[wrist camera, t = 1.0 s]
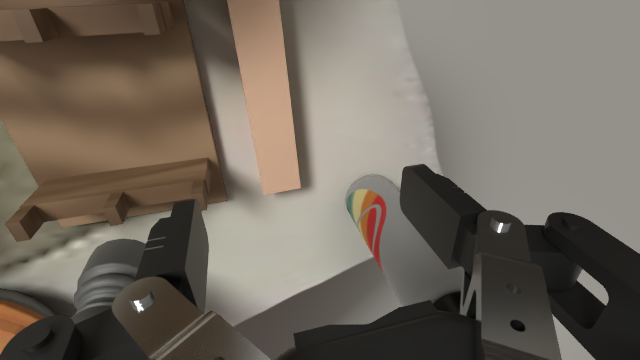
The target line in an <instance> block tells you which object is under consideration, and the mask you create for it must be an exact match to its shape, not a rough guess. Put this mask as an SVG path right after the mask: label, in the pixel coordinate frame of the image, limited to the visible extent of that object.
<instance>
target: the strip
mask: <svg viewBox="0 0 640 360" xmlns="http://www.w3.org/2000/svg"><path fill="white" fill-rule="evenodd" d="M227 3H228V8H229V14H230V19H231V24H232V30H233V35H234V40H235V46H236V51H237V56H238V62H239V67H240V72H241V78H242V83H243V88H244V94H245V99H246V104H247V110H248V115H249V120H250V125H251V131H252V136H253V141H254V147H255V152H256V157H257V163H258V168H259V173H260V179H261V184H262V189H263V195H267V194H272V193H277V192H283V191H288V190H293V189H299V188H301V186H300V177H299V169H298V160H297V151H296V143H295V134H294V125H293V117H292V108H291V99H290V91H289V82H288V74H287V65H286V56H285V48H284V39H283V30H282V22H281V13H280V4H279V0H227Z"/></svg>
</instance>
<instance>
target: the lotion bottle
mask: <svg viewBox="0 0 640 360" xmlns="http://www.w3.org/2000/svg"><path fill="white" fill-rule="evenodd" d="M346 206H347V209H348V211H349V213H350V215H351V217H352V219H353V221H354V222H355V224H356V226H357V228H358V229H359V231H360V233H361V235H362V237H363V238H364V240H365V242H366V244H367V245H368V247H369V249H370V251H371V253H372V254H373V256H374V258H375V260H376V261H377V263H378V265H379V267H380V268H381V270H382V272H383V273H384V276H385V277H386V279H387V281H388V283H389V284H390V286H391V288H392V289H393V291H394V293H395V295H396V297H397V299H398V300H399V302H400V304H401V305H402V307H403V306H407V305H411V304H415V303H419V302H424V301H428V300H431V302H432V303H433V305H434V306H435V308H436V309H437V310H438V311H448V312H453V313H458V314H460V302H461V287H462V275H463V271H464V269H463V268H462V267H457V268H452V269H448V268H447V267H446V266H445V265H444V263H443V262H442V261H441V260H440V258H439V257H438V256H437V255H436V253H435V252H434V251H433V250H432V248H431V247H430V246H429V245H428V244H427V242H426V241H425V240H424V239H423V237H422V236H421V235H420V234H419V232H418V231H417V230H416V229H415V227H414V226H413V225H412V224H411V223H410V221H409V220H408V219H407V218H406V216H405V215H404V214H403V212H402V210H401V207H400V192H399V191H398V190H397V188H396V187H395V186H394V185H393V184H392V183H391V182H390V181H389V180H388V179H386V178H385V177H383V176H380V175H368V176H365V177H362V178H360V179H359V180H357V181H356V182H355V183H354V184H353V185H352V186H351V187H350V189H349V190H348V193H347V195H346Z"/></svg>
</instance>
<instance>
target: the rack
mask: <svg viewBox="0 0 640 360" xmlns="http://www.w3.org/2000/svg"><path fill="white" fill-rule="evenodd" d="M0 118H1V120H2V122H3V124H4V125H5V127H6V129H7V131H8V133H9V134H10V136H11V138H12V140H13V141H14V143H15V145H16V147H17V149H18V150H19V152H20V154H21V156H22V157H23V159H24V161H25V163H26V165H27V166H28V168H29V170H30V172H31V174H32V175H33V177H34V179H35V181H36V182H37V184H38V186H39V188H38V189H37V190H36V191H35V192H34V193H33V194H32V195H31V196H30V197H29V198H28V199H27V200H26V201H25V202H24V203H23V204H22V205H21V206H20V209H19V210H18V211H17V212H16V213H15V214H14V215H13V216H12V217H11V218H10V219H9V220H8V221H7V222H6V223H5V225H6V226H7V228H8V229H9V231H10V232H11V234H12V235H13V237H14V238H15V240H16V241H17V242H18V241H24V240H30V239H31V238H32V237H33V235H34V234H35V233H36V232H37V230H38V229H39V228H40V227H41V225H42V224H43V223H44V222H47V221H53V220H58V222H59V223H60V225H61V227H62V228H64V227H71V226H77V225H83V224H89V223H95V222H101V221H107V220H108V222H109V224H110V226H113V225H119V224H123V222H124V220H125V218H126V217H131V216H137V215H143V214H150V213H156V212H162V211H168V210H172V209H173V205H174V203H175V202H180V201H186V200H192V199H197V200H198V203H199V206H200V210H201V211H203V210H207V204H210V203H216V202H223V201H226V192H225V187H224V183H223V178H222V174H221V169H220V165H219V160H218V156H217V151H216V146H215V142H214V137H213V133H212V128H211V124H210V119H209V115H208V110H207V106H206V101H205V97H204V92H203V88H202V83H201V78H200V74H199V69H198V65H197V60H196V56H195V51H194V47H193V42H192V38H191V33H190V29H189V24H188V20H187V15H186V10H185V6H184V1H183V0H0Z"/></svg>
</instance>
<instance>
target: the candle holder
mask: <svg viewBox="0 0 640 360" xmlns="http://www.w3.org/2000/svg"><path fill="white" fill-rule="evenodd" d="M145 246H146V244H144V243H141V242H139V241H136V240H128V239H118V240H112V241H108V242H106V243H104V244H102V245H100V246H98V247H97V248H96V249H95V251H94V252H93V253H92V255H91V256H90V258H89V260H88V262H87V264H86V266H85V268H84V270H83V272H82V274H81V276H80V278H79V279H78V289H77V291H76V293H75V295H74V306H75V308H76V309H77V312H76V313H75V314H74V316H72V317H70V318H71V319H72V320H73V322H74V323H75V324H76V323H79V322H81V321H83V320H86V319H88V318H90V317H92V316H95V315H97V314H99V313H102V312H104V311H106V310H108V309H109V308H111V307H112V304H113V301H114V299H115V297H116V296H117V295H118V294H119V293H120V292H121V290H123V289H124V288H125V287H126V286H128V285H129V284H131V283H133V282H134V280H135V277H136V274H137V271H138V268H139V265H140V262H141V259H142V255H143V252H144V251H145Z"/></svg>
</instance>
